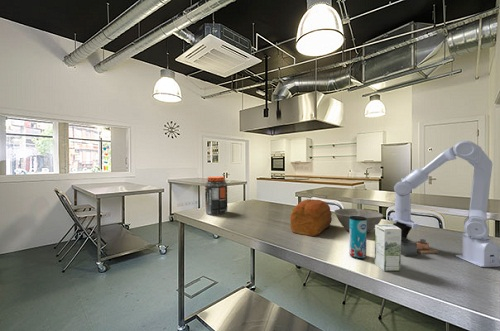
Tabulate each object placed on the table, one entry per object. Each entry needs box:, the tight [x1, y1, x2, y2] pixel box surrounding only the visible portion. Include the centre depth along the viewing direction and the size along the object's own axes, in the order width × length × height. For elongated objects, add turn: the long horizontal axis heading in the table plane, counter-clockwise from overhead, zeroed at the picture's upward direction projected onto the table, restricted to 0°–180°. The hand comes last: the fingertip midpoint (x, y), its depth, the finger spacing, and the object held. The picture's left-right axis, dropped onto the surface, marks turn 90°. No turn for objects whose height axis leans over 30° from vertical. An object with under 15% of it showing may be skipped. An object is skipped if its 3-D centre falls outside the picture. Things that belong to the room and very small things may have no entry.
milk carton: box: [374, 223, 402, 272], centre depth 80 cm, size 6×6×14 cm
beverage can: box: [349, 216, 368, 260], centre depth 90 cm, size 6×6×15 cm
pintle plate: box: [417, 246, 439, 255], centre depth 96 cm, size 7×7×1 cm
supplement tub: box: [204, 176, 228, 216], centre depth 167 cm, size 16×16×26 cm
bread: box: [289, 198, 333, 237], centre depth 127 cm, size 16×27×16 cm, turn 146°
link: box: [414, 238, 430, 249], centre depth 96 cm, size 14×4×3 cm, turn 91°
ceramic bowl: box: [333, 208, 384, 233], centre depth 122 cm, size 22×23×10 cm
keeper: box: [401, 237, 418, 257], centre depth 94 cm, size 8×5×5 cm, turn 4°
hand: (402, 240), depth 101 cm, fingers closed
